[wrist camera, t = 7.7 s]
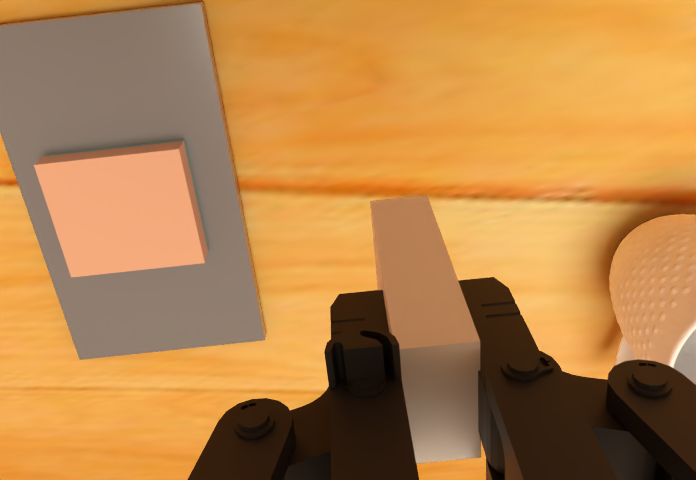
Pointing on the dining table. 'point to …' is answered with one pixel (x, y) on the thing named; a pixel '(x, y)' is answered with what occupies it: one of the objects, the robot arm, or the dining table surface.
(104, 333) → the slate board
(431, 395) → the robot arm
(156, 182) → the tile
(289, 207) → the dining table surface
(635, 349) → the mug
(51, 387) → the dining table surface
